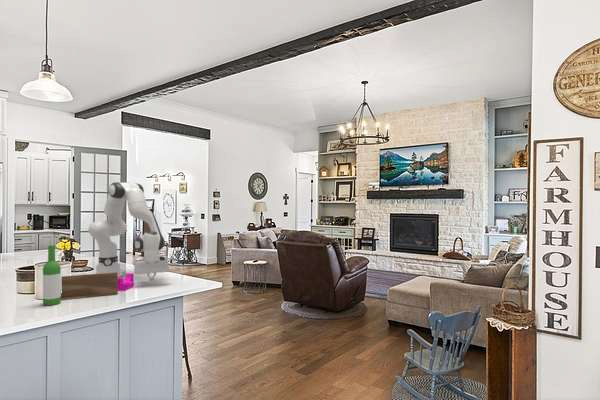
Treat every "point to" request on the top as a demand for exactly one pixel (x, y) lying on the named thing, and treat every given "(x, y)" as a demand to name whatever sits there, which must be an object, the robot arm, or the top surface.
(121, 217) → the robot arm
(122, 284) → the toy block
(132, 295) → the top surface
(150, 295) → the top surface
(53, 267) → the wine bottle
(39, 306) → the top surface
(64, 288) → the brown block
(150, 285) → the top surface
